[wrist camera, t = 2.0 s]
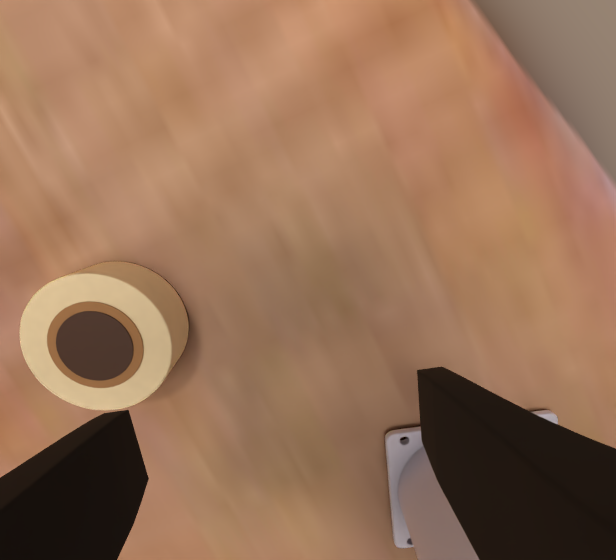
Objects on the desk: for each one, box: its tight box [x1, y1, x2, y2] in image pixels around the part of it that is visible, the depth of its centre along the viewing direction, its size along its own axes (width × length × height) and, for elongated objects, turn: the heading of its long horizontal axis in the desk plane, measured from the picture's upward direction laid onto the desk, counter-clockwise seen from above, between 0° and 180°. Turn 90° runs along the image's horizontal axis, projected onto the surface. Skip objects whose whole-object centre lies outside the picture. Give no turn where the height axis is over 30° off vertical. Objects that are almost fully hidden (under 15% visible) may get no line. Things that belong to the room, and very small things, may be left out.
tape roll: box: [20, 261, 189, 410], centre depth 17 cm, size 6×6×3 cm
